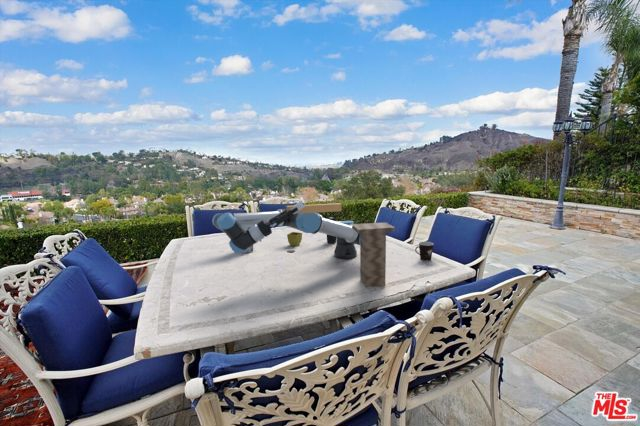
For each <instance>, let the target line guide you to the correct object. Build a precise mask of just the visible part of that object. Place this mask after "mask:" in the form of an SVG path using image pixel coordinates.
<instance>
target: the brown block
mask: <svg viewBox="0 0 640 426" xmlns="http://www.w3.org/2000/svg"><path fill="white" fill-rule="evenodd" d="M303 205H304V206H305V207H304V208H303V209H301V210H299V211H298V212H296V213H295V214H299V213H334V212H335V213H336V212H342V211H343V209H342V208H343V207H342V203H341V202H339V203H337V202H336V203H317V204H315V203H314V204H303ZM295 206H296V205H295V204H294V205H286V209H287V212H288V211H289V210H290V209H291V208H293V207H295ZM290 211H291V210H290Z"/></svg>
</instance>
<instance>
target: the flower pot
mask: <svg viewBox="0 0 640 426" xmlns="http://www.w3.org/2000/svg"><path fill="white" fill-rule="evenodd" d="M286 236H287V238H286V239H287V242H288V244H289V245H290V246H292V247H293V246H294V247H297V246H299V245H300V244H301V242H302V240H303V232H299V231H297V232H296V231H292V232H290V233H287V234H286Z"/></svg>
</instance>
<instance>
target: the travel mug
mask: <svg viewBox="0 0 640 426" xmlns="http://www.w3.org/2000/svg"><path fill="white" fill-rule="evenodd" d="M326 219H330V220H333V221H337V217H336V216H330V215H329V216H326ZM326 243H327V244H329V245H334V244H335V245H336V244H337V239H336V237H335V236H331V235H327V234H326Z"/></svg>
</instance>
